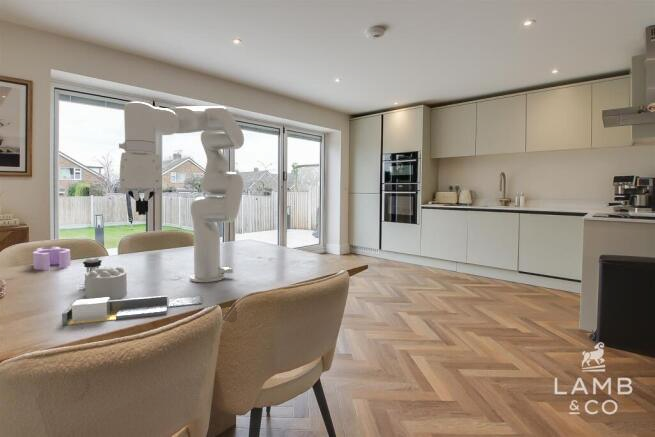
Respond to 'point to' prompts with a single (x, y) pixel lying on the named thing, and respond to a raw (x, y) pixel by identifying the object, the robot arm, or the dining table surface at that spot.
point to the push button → (91, 265)
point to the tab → (185, 301)
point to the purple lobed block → (51, 258)
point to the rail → (126, 309)
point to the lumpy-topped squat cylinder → (106, 283)
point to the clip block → (90, 309)
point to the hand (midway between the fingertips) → (142, 214)
